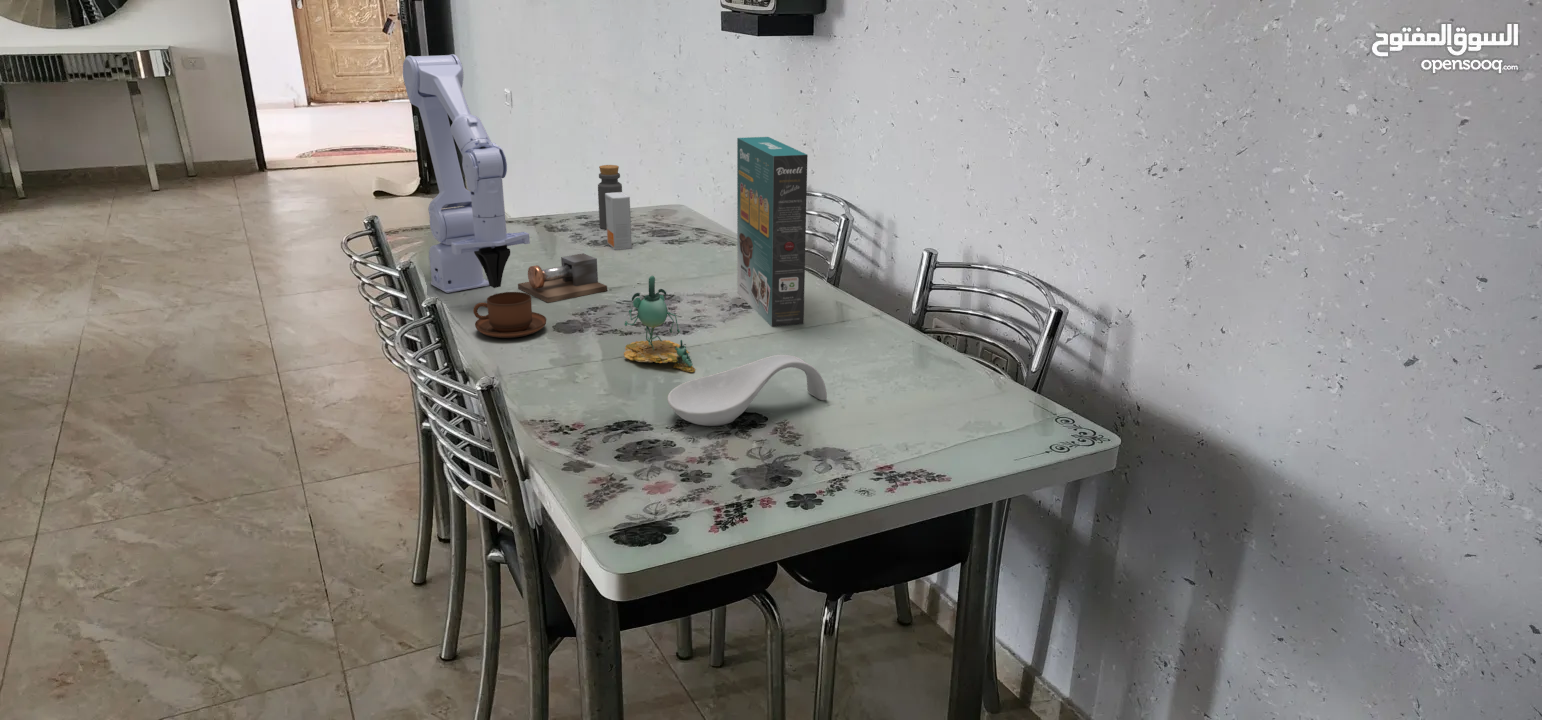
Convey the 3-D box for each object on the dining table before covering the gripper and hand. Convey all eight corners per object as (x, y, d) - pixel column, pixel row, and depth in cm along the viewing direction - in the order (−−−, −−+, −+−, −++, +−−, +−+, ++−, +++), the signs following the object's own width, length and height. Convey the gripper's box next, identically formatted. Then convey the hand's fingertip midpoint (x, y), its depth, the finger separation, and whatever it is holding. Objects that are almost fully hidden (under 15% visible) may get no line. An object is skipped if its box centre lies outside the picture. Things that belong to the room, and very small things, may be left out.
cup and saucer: (480, 347, 168) (477, 311, 166) (472, 325, 178) (468, 291, 176) (553, 338, 172) (550, 304, 170) (540, 318, 183) (538, 285, 181)
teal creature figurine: (652, 383, 154) (643, 287, 150) (608, 359, 169) (599, 272, 165) (708, 371, 158) (701, 278, 154) (661, 349, 173) (653, 264, 169)
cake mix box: (803, 323, 181) (807, 154, 170) (771, 326, 179) (773, 156, 169) (766, 290, 200) (768, 136, 190) (737, 292, 199) (737, 137, 188)
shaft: (539, 291, 193) (537, 268, 192) (528, 286, 197) (527, 264, 195) (581, 283, 199) (580, 261, 198) (570, 278, 202) (569, 256, 201)
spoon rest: (689, 443, 134) (688, 393, 132) (654, 411, 144) (653, 364, 141) (840, 410, 145) (841, 363, 142) (798, 383, 155) (799, 338, 152)
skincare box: (606, 244, 234) (604, 192, 230) (624, 242, 236) (622, 191, 232) (614, 250, 229) (612, 197, 225) (632, 248, 231) (630, 196, 226)
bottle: (621, 229, 248) (619, 168, 243) (597, 229, 248) (594, 168, 243) (625, 224, 253) (622, 164, 248) (602, 224, 253) (599, 164, 248)
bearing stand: (547, 302, 191) (545, 273, 189) (518, 288, 200) (515, 260, 198) (607, 290, 199) (605, 262, 197) (576, 277, 207) (574, 250, 205)
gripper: (460, 223, 178) (467, 297, 182) (535, 213, 186) (540, 284, 191) (443, 216, 183) (451, 289, 187) (517, 206, 191) (522, 276, 196)
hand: (495, 286), depth 190 cm, fingers closed
